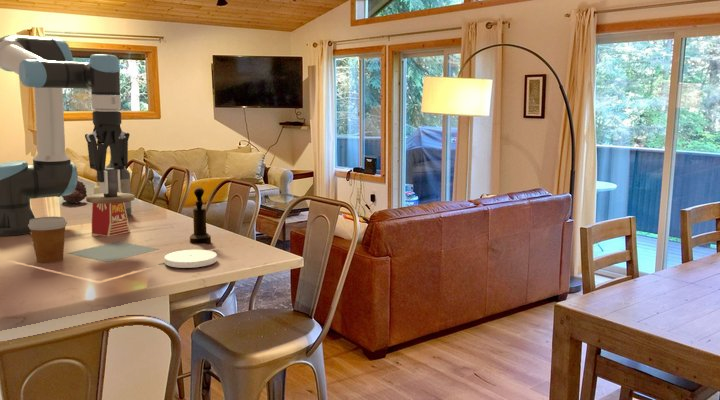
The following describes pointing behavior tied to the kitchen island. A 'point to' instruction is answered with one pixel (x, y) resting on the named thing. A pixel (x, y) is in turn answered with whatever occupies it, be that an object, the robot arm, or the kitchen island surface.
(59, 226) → the disposable coffee cup
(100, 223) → the milk carton
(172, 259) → the plastic lid
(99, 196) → the wooden lid with knob
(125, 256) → the slate mat
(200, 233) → the black pedestal statuette
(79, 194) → the pine cone
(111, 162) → the liquor
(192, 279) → the kitchen island surface
